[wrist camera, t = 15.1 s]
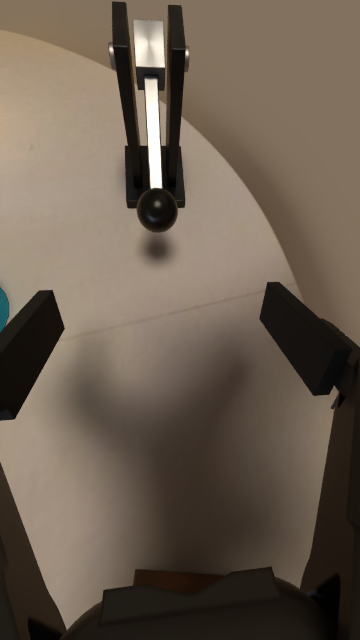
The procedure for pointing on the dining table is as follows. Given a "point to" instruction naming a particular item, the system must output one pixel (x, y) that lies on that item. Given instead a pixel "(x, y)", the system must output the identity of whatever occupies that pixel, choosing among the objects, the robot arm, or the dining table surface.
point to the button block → (175, 580)
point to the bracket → (123, 65)
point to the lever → (153, 123)
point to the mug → (3, 309)
